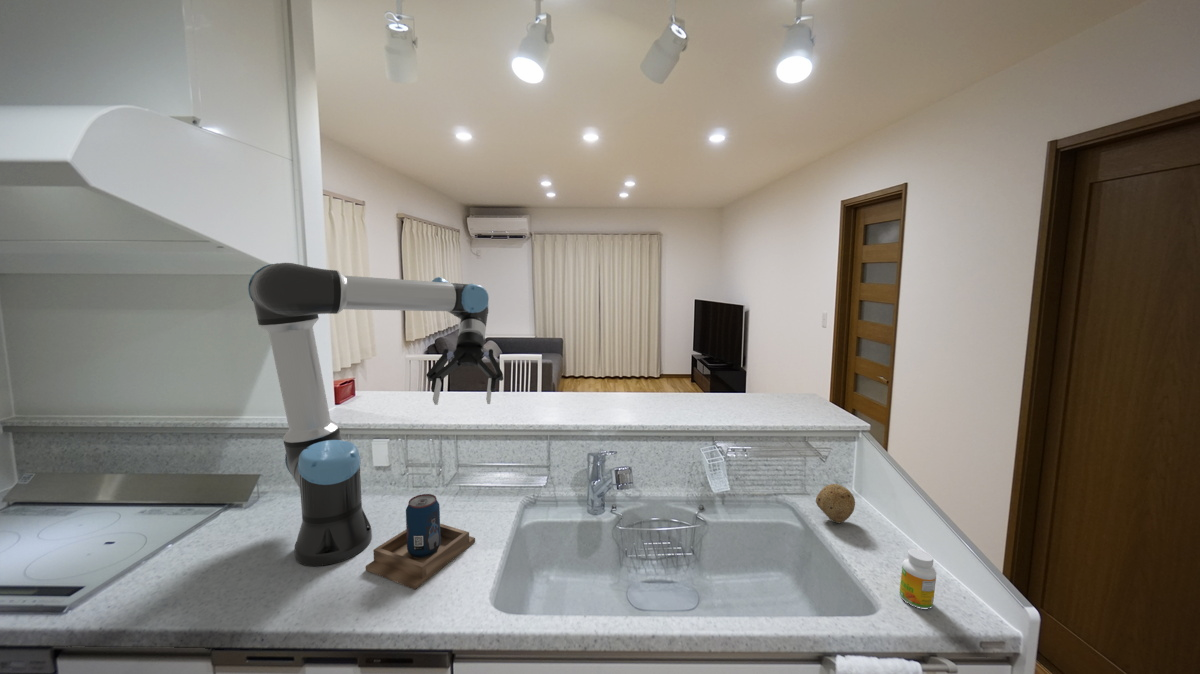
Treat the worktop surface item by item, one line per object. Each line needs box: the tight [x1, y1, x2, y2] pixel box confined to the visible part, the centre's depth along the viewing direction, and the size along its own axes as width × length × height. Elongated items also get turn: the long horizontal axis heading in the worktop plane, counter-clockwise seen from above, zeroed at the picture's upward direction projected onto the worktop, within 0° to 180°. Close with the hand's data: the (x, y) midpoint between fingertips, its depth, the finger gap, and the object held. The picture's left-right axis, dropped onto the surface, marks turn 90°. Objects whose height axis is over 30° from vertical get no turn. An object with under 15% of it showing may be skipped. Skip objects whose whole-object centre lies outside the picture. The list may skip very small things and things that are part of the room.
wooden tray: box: [365, 523, 476, 590], centre depth 97 cm, size 14×18×4 cm
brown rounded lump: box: [815, 483, 856, 524], centre depth 114 cm, size 9×9×10 cm
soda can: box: [405, 493, 441, 559], centre depth 97 cm, size 7×7×12 cm
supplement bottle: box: [898, 548, 937, 608], centre depth 85 cm, size 5×5×10 cm
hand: (461, 401), depth 115 cm, fingers open, 13 cm apart
